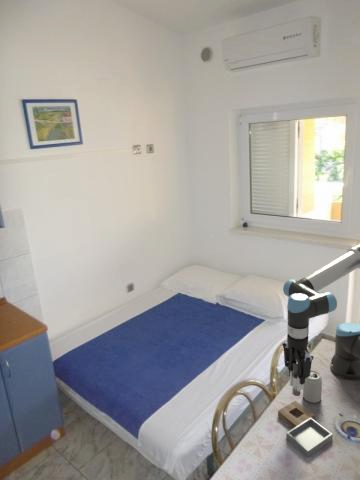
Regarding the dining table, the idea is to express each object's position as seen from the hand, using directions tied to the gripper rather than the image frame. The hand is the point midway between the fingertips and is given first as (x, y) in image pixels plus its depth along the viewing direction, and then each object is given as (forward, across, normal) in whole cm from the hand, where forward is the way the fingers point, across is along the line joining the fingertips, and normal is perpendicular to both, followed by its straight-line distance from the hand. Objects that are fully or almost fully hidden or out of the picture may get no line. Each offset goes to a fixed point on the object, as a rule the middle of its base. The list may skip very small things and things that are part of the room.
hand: (296, 386), depth 146 cm
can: (+15, -4, +14) cm, 21 cm away
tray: (+15, +10, -4) cm, 18 cm away
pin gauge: (+3, 0, 0) cm, 3 cm away
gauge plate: (+15, 0, 0) cm, 15 cm away
